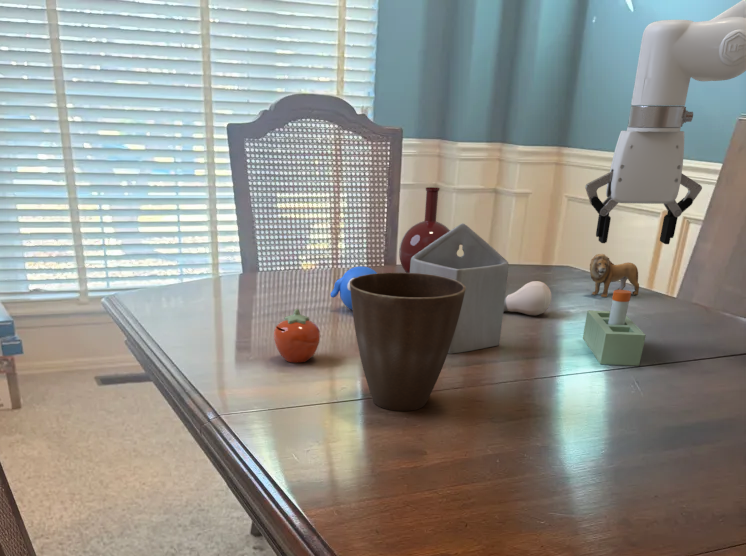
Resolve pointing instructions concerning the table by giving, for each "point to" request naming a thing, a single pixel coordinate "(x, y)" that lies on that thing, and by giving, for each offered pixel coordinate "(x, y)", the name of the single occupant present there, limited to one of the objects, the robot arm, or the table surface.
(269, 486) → the table surface
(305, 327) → the tomato
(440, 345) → the flower pot
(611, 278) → the lion figurine
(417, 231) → the round-bottom flask
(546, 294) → the light bulb
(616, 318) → the test tube
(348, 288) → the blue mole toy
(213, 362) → the table surface
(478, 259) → the planter
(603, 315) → the rack
